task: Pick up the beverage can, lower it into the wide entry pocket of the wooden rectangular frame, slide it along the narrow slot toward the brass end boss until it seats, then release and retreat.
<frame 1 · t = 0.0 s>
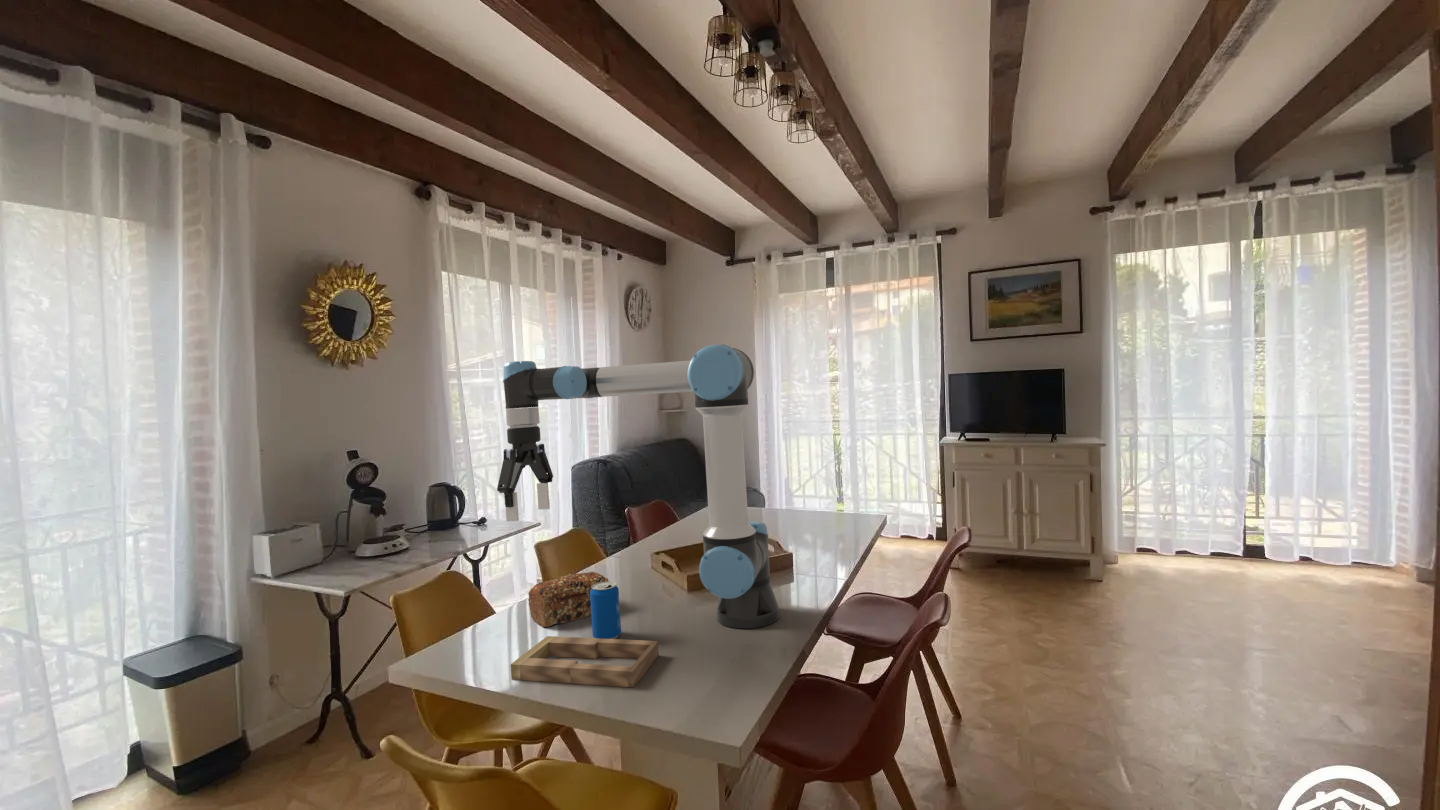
hand: (529, 514, 145), 28 cm above the table, fingers open, 13 cm apart
beverage can: (607, 637, 139), on the table
wooden rectangular frame: (587, 666, 124), on the table
bread: (571, 615, 156), on the table
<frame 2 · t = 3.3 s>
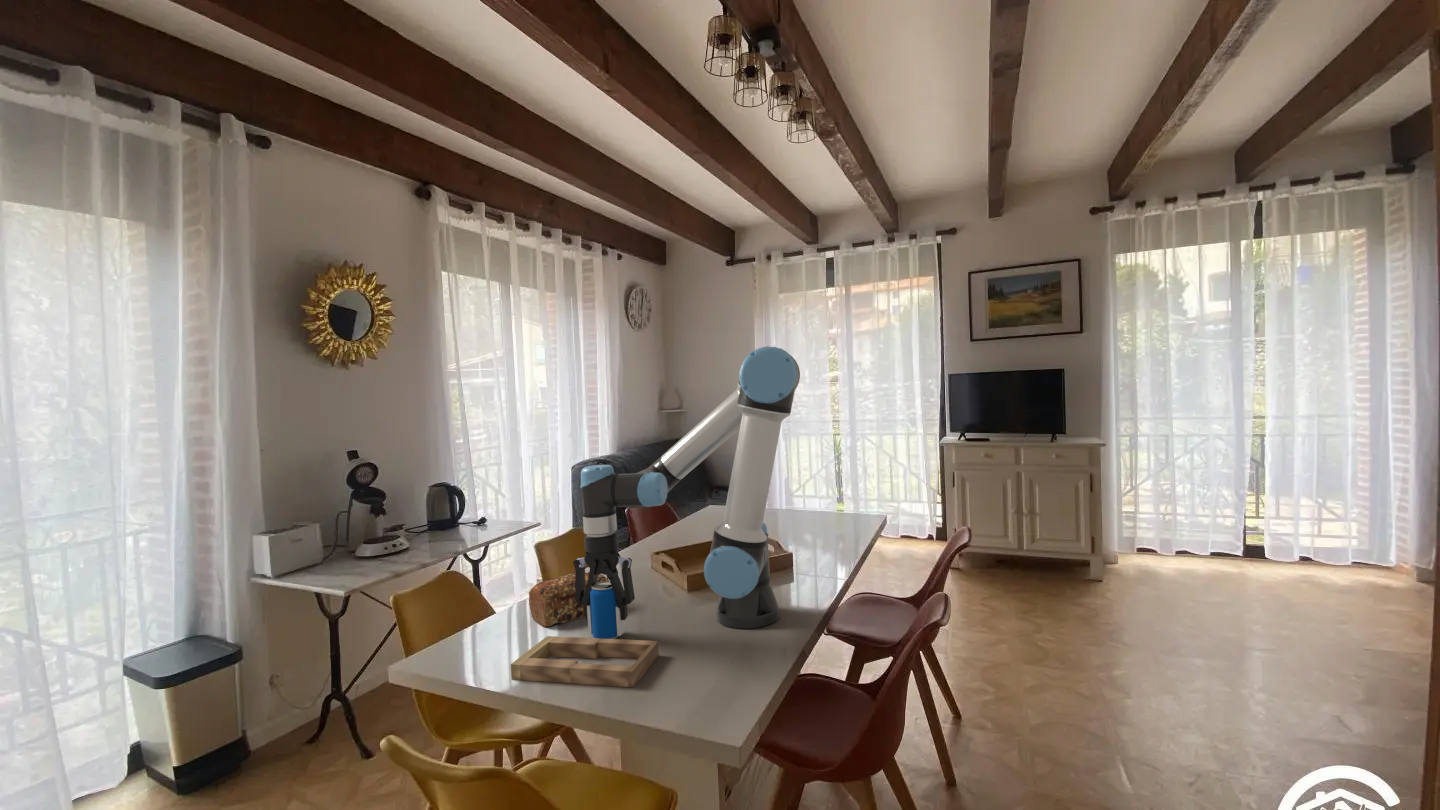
hand: (606, 632, 139), 1 cm above the table, fingers closed on beverage can, 6 cm apart
beverage can: (607, 637, 139), on the table, touching gripper
everything else where it was.
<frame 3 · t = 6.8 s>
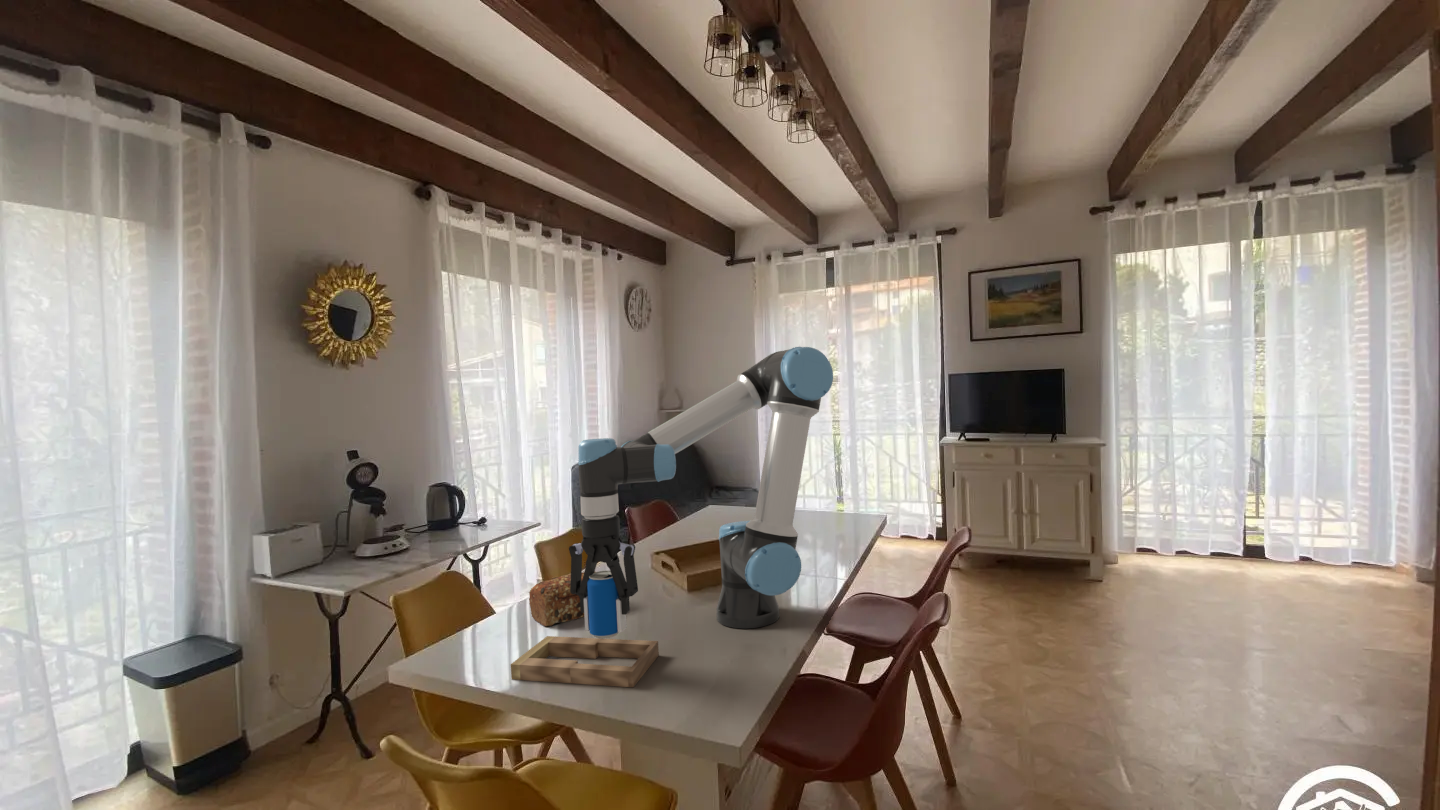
hand: (605, 628, 123), 8 cm above the table, fingers closed on beverage can, 6 cm apart
beverage can: (606, 634, 123), point 7 cm above the table, touching gripper
everything else where it was.
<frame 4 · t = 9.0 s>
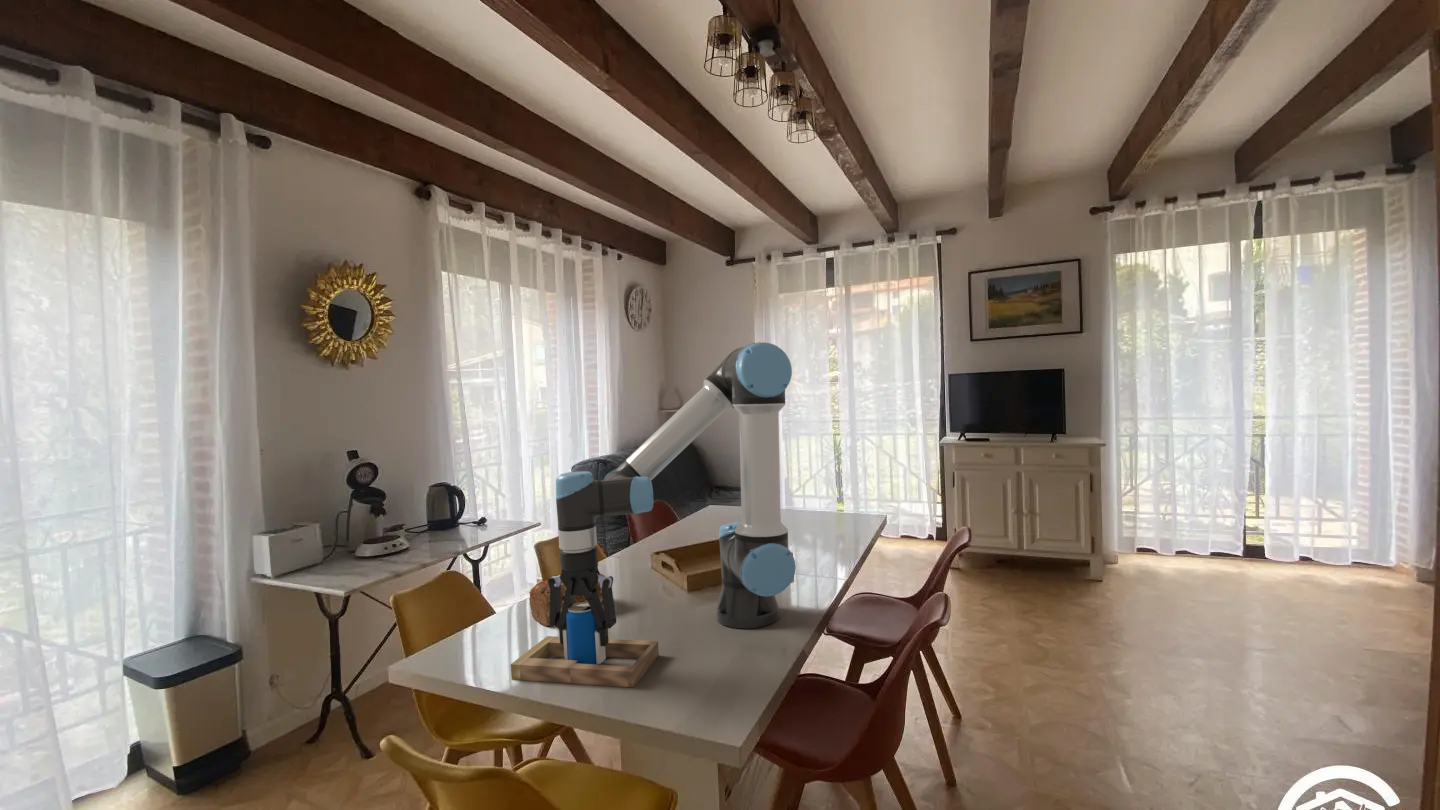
hand: (585, 660, 124), 1 cm above the table, fingers closed on beverage can, 6 cm apart
beverage can: (585, 665, 124), resting in wooden rectangular frame, touching gripper
everything else where it was.
when the fingers open (1 cm above the table, at t = 10.5 s): beverage can stays where it is, resting in wooden rectangular frame.
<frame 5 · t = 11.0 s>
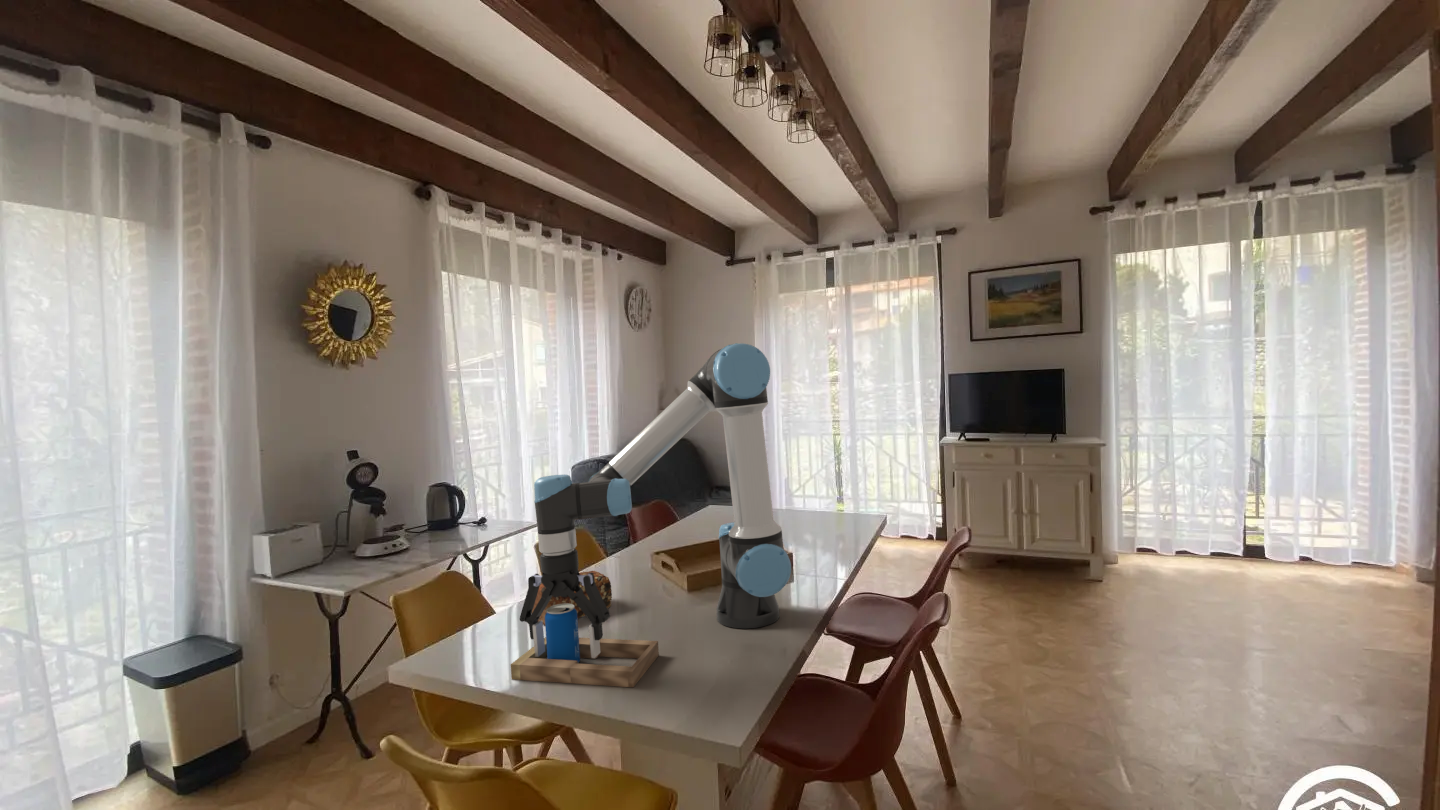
hand: (567, 654, 125), 2 cm above the table, fingers open, 12 cm apart
beverage can: (564, 666, 125), resting in wooden rectangular frame
everything else where it was.
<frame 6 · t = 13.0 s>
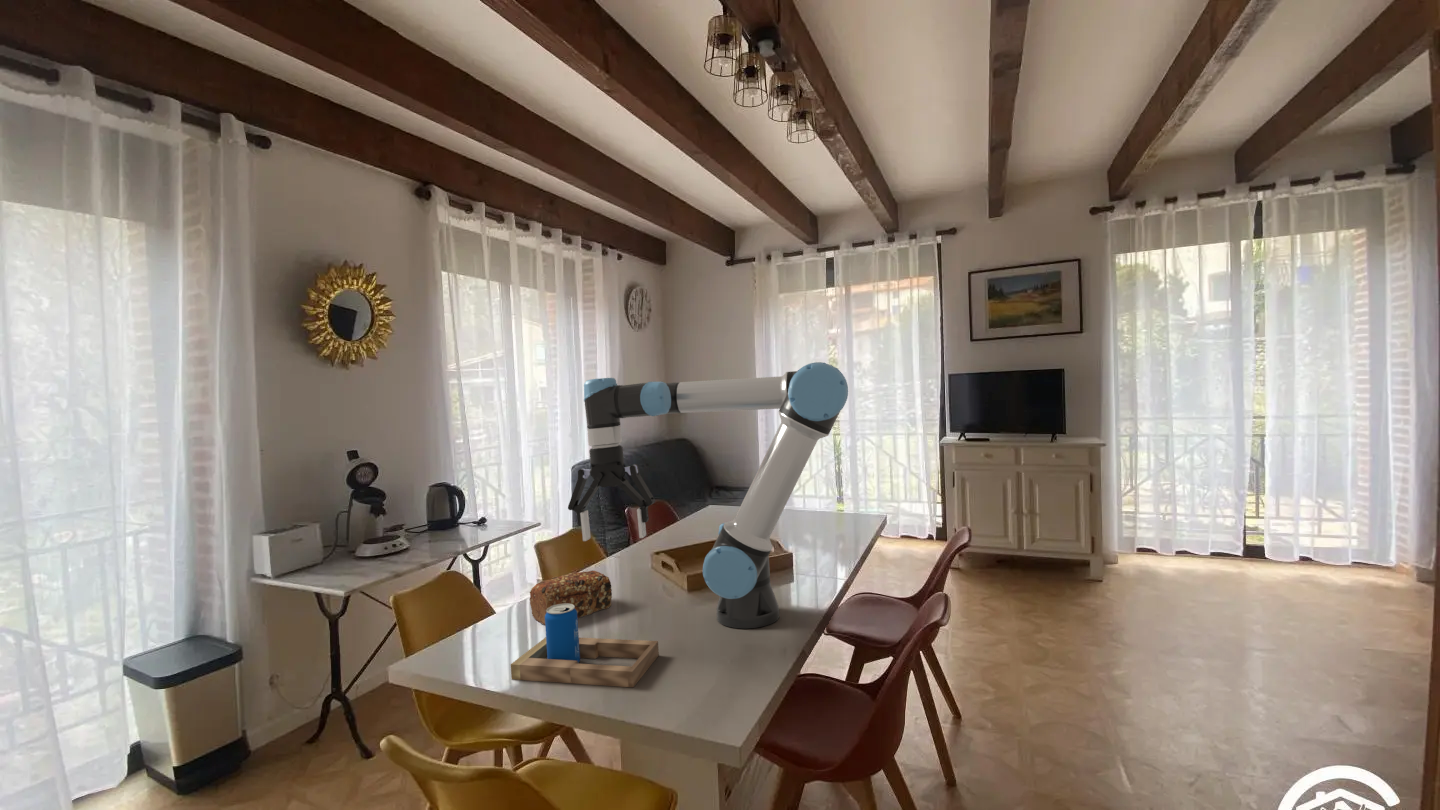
hand: (614, 538, 139), 23 cm above the table, fingers open, 13 cm apart
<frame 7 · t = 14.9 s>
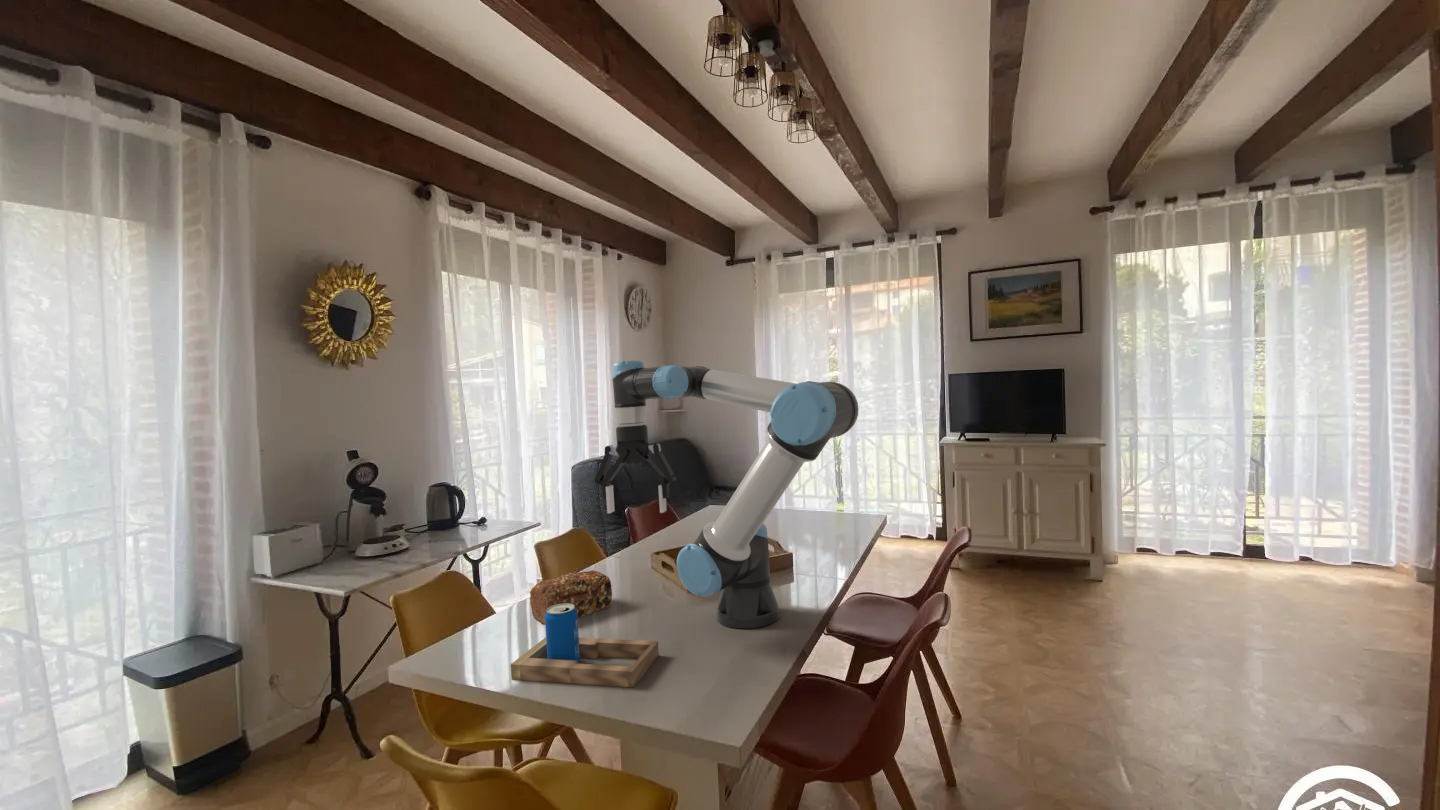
hand: (636, 512, 147), 27 cm above the table, fingers open, 13 cm apart
at the end: beverage can 1.0 cm from the target spot on the wooden rectangular frame, point 0.0 cm above the wooden rectangular frame's base; beverage can tilted 0°; the gripper is holding nothing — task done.
